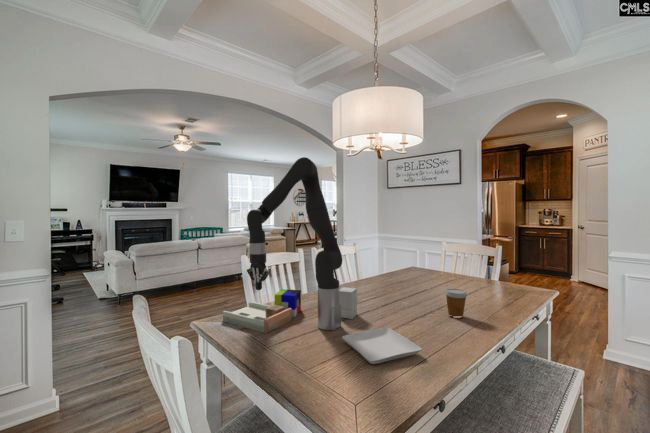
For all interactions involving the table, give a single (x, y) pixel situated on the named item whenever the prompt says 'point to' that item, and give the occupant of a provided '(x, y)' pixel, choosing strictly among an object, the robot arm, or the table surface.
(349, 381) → the table surface
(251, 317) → the box
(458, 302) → the disposable coffee cup
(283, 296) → the puzzle toy
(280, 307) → the walnut block
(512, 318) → the table surface
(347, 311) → the supplement box
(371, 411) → the table surface
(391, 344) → the salad plate
